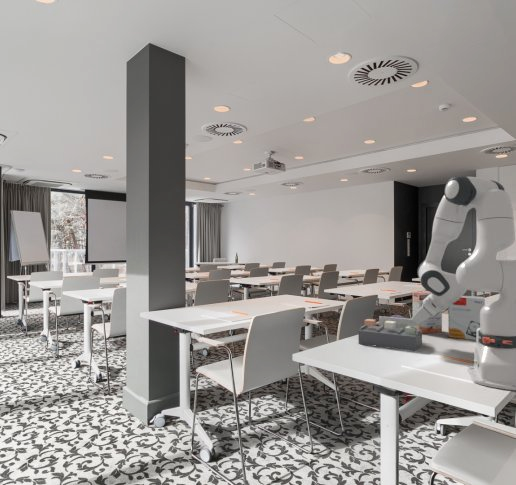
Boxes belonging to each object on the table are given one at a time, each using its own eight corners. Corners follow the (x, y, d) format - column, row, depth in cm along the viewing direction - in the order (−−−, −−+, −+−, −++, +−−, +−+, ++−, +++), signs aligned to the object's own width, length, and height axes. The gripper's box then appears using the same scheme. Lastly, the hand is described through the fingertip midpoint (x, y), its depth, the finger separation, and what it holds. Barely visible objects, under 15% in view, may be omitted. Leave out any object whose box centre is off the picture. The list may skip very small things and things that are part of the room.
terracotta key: (373, 326, 175) (373, 321, 175) (364, 325, 178) (364, 320, 178) (375, 325, 179) (375, 319, 179) (367, 324, 181) (367, 318, 181)
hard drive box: (448, 337, 185) (447, 296, 186) (448, 334, 192) (448, 294, 193) (485, 341, 178) (484, 298, 179) (484, 337, 185) (483, 296, 185)
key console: (416, 351, 161) (415, 327, 161) (358, 343, 174) (358, 321, 174) (424, 341, 177) (424, 320, 177) (371, 335, 191) (370, 315, 191)
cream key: (393, 328, 171) (393, 323, 171) (384, 327, 173) (384, 322, 173) (395, 327, 174) (395, 321, 174) (386, 326, 176) (386, 320, 177)
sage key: (415, 334, 166) (414, 328, 166) (405, 333, 168) (405, 327, 168) (416, 332, 169) (416, 326, 170) (407, 331, 172) (407, 325, 172)
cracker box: (419, 334, 194) (419, 292, 194) (412, 331, 199) (411, 291, 200) (443, 332, 197) (442, 291, 198) (434, 329, 203) (434, 290, 203)
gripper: (431, 296, 174) (409, 316, 179) (424, 302, 157) (399, 324, 162) (442, 307, 172) (419, 327, 177) (436, 314, 154) (410, 336, 159)
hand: (409, 325), depth 169 cm, fingers closed, pressing on sage key
